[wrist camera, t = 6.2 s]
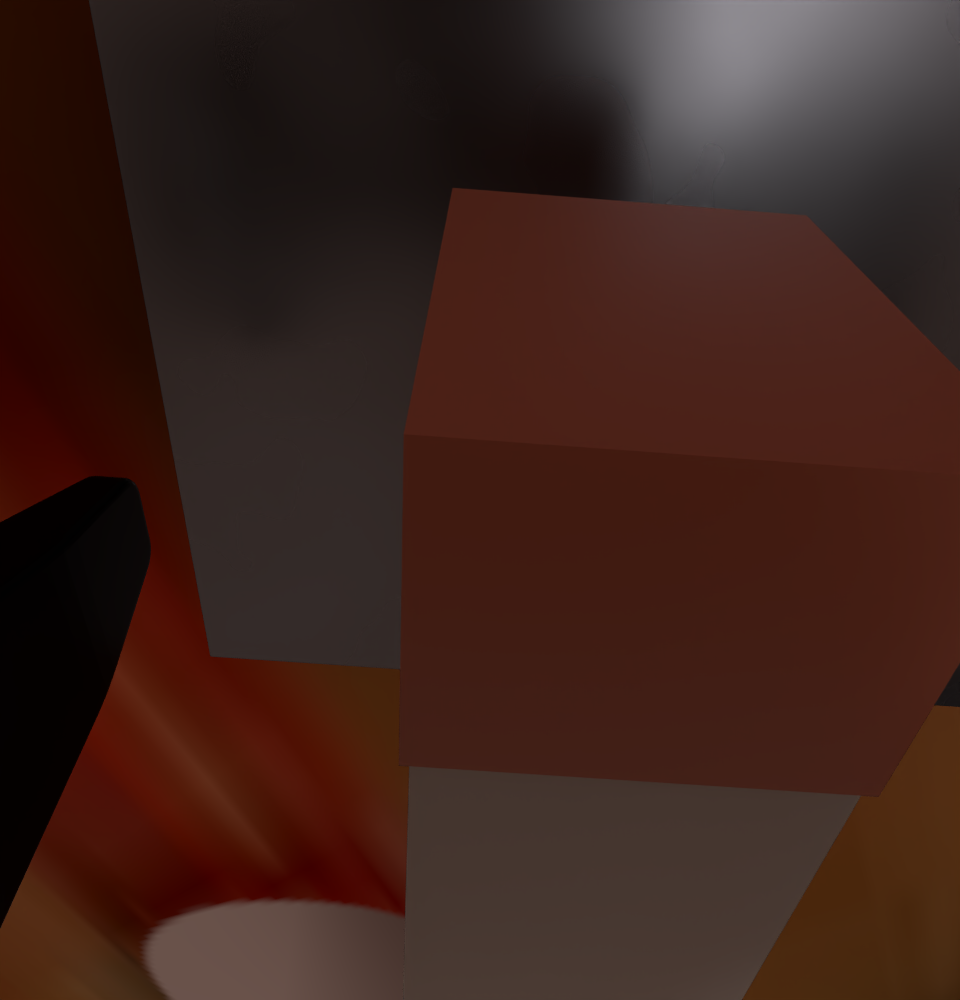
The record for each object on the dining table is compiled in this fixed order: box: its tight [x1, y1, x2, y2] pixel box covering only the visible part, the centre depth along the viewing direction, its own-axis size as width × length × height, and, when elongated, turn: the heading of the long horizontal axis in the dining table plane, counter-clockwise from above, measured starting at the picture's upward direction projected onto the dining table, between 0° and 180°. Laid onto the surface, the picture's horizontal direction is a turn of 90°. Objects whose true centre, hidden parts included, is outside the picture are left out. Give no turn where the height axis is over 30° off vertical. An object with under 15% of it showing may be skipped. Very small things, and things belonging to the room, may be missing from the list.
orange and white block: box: [399, 188, 960, 1000], centre depth 8 cm, size 7×2×6 cm, turn 176°
